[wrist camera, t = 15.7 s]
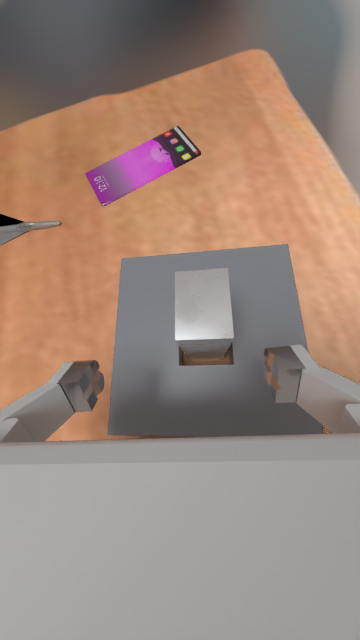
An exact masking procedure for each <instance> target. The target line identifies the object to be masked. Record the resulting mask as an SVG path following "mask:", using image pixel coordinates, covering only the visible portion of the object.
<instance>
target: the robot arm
mask: <svg viewBox="0 0 360 640" xmlns="http://www.w3.org/2000/svg"><path fill="white" fill-rule="evenodd" d="M264 356H265V358H266V360H265V361H264V363H263V370H264V376H265V380H266V382H267V383H268V384H269V385H270V392H271V394H272V396H273V399H274V401H275V403H291V402H297V404H298V405H299V406H300V407H301V408H303V409H304V410H305V411H306V412H307V413H309V414H310V415H311V416H312V417H313V418H315V419H316V420H317V421H318V422H319V423H321V424H322V425H323V426H324V427H326V428H327V429H328V430H329V431H330V432H332V433H333V434H300V435H264V436H226V437H189V438H153V439H117V440H80V441H45V440H47V439H48V438H49V437H50V436H51V435H52V434H53V433H54V432H55V431H56V430H57V429H58V428H59V427H60V426H62V425H63V424H64V423H65V422H66V421H67V420H68V419H69V418H70V417H71V416H72V415H73V414H74V413H75V412H84V411H92V409H93V408H94V406H95V404H96V402H97V400H98V399H97V395H98V394H100V393H101V392H102V390H103V388H104V376H103V374H102V373H101V372H100V371H99V370H98V369H99V367H100V366H99V364H98V362H97V361H95V360H86V361H70V362H65V363H64V364H63V365H62V366H61V367H60V369H59V370H58V371H57V372H56V373H55V374H54V376H53V377H52V378H51V379H50V380H49V381H48V383H47V384H46V385H42V386H40V387H38V388H37V389H35V390H33V391H32V392H30V393H28V394H27V395H25V396H23V397H21V398H20V399H18V400H16V401H15V402H13V403H11V404H10V405H8V406H6V407H5V408H3V409H1V410H0V640H360V385H359V384H357V383H355V382H353V381H351V380H349V379H347V378H345V377H343V376H341V375H339V374H336V373H334V372H332V371H330V370H328V369H326V368H320V367H319V366H318V364H317V363H316V362H315V361H314V359H313V358H312V357H311V356H310V354H309V353H308V352H307V351H306V349H305V348H304V347H303V346H302V345H300V344H297V345H288V346H280V347H267V348H265V350H264Z"/></svg>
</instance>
